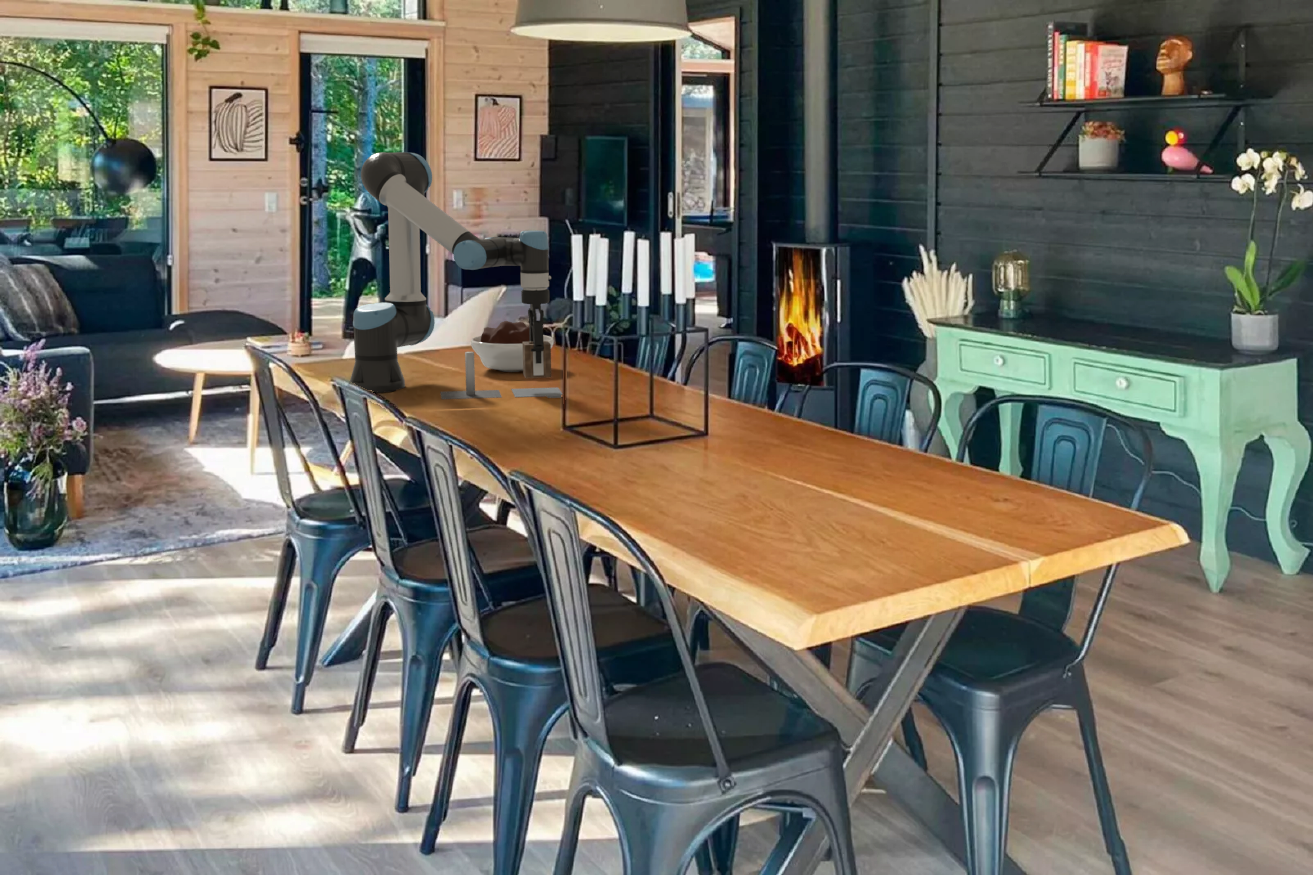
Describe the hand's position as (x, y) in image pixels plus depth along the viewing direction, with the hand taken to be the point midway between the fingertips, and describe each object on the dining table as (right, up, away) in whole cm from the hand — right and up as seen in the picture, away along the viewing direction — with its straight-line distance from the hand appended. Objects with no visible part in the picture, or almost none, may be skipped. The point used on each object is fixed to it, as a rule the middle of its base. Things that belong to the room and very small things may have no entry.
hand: (537, 372), depth 384 cm
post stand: (-18, -6, -2) cm, 19 cm away
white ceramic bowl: (-11, +3, +44) cm, 46 cm away
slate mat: (0, -6, +1) cm, 6 cm away
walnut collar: (0, -1, 0) cm, 1 cm away
